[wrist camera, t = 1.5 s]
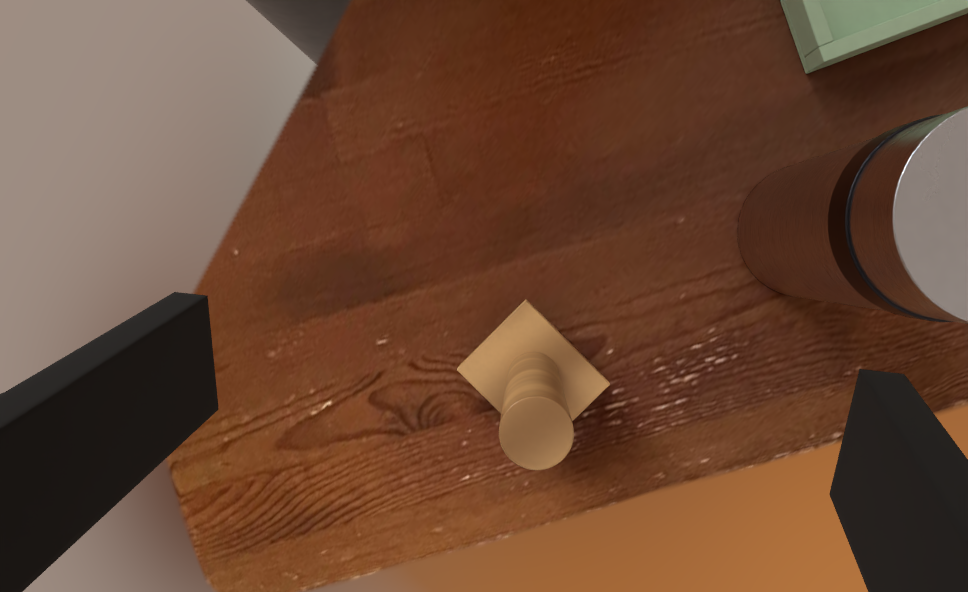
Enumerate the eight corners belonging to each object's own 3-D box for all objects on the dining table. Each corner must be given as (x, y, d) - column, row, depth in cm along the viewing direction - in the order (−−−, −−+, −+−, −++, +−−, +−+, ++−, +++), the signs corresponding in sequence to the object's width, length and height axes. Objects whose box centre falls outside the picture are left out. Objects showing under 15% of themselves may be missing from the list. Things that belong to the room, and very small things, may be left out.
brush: (461, 361, 41) (424, 422, 26) (526, 296, 41) (525, 321, 26) (538, 438, 41) (546, 544, 26) (604, 374, 41) (649, 444, 26)
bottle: (716, 190, 40) (857, 143, 23) (847, 142, 39) (1092, 57, 22) (761, 317, 40) (934, 364, 23) (893, 271, 40) (1168, 284, 23)
